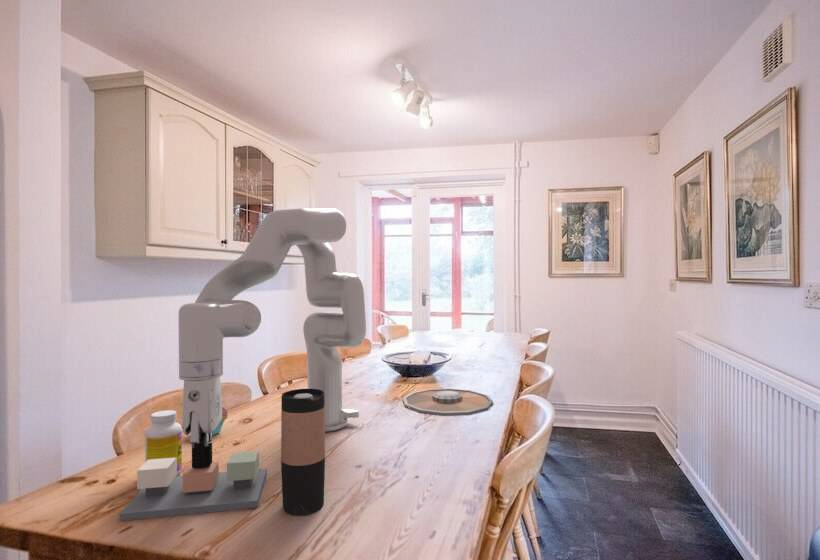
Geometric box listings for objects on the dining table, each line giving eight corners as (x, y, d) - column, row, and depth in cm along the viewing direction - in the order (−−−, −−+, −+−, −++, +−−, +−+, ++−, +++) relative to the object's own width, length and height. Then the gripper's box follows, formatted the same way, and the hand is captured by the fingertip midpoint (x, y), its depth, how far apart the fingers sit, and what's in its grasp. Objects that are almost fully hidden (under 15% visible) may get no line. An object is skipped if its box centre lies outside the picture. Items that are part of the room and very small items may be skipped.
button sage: (258, 467, 88) (258, 451, 88) (255, 478, 83) (255, 461, 83) (232, 470, 87) (232, 453, 87) (226, 481, 82) (226, 463, 82)
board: (267, 474, 92) (267, 457, 92) (257, 507, 78) (257, 488, 79) (151, 484, 88) (151, 466, 88) (119, 521, 74) (119, 500, 74)
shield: (409, 381, 165) (491, 384, 160) (409, 390, 165) (491, 393, 160) (394, 404, 135) (494, 408, 130) (394, 415, 135) (494, 419, 130)
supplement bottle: (183, 477, 91) (183, 414, 91) (146, 485, 87) (146, 420, 88) (180, 466, 97) (180, 406, 97) (144, 473, 93) (144, 411, 93)
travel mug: (285, 496, 83) (285, 388, 83) (327, 494, 83) (327, 387, 83) (277, 518, 75) (276, 399, 75) (322, 515, 76) (322, 398, 76)
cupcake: (214, 439, 113) (214, 392, 113) (185, 437, 115) (185, 390, 115) (234, 428, 122) (234, 384, 122) (206, 426, 123) (206, 383, 123)
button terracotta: (218, 478, 86) (218, 461, 86) (212, 490, 81) (212, 472, 81) (190, 480, 85) (190, 463, 85) (182, 492, 80) (182, 474, 80)
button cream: (176, 474, 85) (176, 457, 85) (167, 486, 80) (167, 468, 80) (148, 477, 84) (148, 459, 84) (137, 489, 79) (137, 470, 79)
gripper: (213, 376, 77) (213, 481, 77) (230, 360, 92) (231, 449, 92) (165, 378, 75) (166, 486, 75) (191, 362, 90) (192, 452, 90)
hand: (202, 465), depth 83 cm, fingers closed
